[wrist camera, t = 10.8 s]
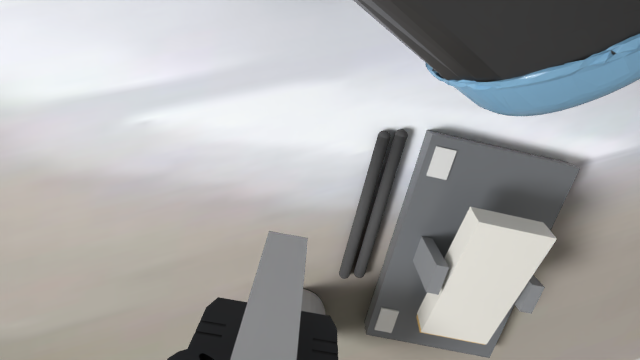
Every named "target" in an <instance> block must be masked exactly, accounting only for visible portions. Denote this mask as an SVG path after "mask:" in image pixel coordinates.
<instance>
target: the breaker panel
mask: <svg viewBox="0 0 640 360" xmlns="http://www.w3.org/2000/svg"><path fill="white" fill-rule="evenodd" d="M579 170H580V168H579V167H576V166H574V165H572V164H570V163H568V162H564V161H559V160H555V159H551V158H546V157H542V156H538V155H533V154H529V153H525V152H520V151H516V150H512V149H507V148H503V147H499V146H494V145H490V144H486V143H481V142H477V141H472V140H468V139H464V138H459V137H455V136H451V135H446V134H442V133H438V132H433V131H429V130H427V131H426V135H425V138H424V141H423V144H422V147H421V150H420V153H419V156H418V159H417V162H416V165H415V168H414V171H413V174H412V178H411V181H410V184H409V187H408V190H407V193H406V196H405V199H404V202H403V205H402V208H401V211H400V214H399V217H398V221H397V224H396V227H395V230H394V233H393V236H392V239H391V242H390V245H389V248H388V251H387V254H386V257H385V260H384V264H383V267H382V270H381V273H380V276H379V279H378V282H377V285H376V288H375V291H374V294H373V297H372V300H371V304H370V307H369V310H368V313H367V316H366V319H365V322H364V323H365V330H366V334H367V335H372V336H377V337H382V338H388V339H393V340H398V341H403V342H409V343H414V344H419V345H424V346H430V347H435V348H440V349H445V350H451V351H456V352H461V353H466V354H472V355H477V356H482V357H487V358H490V356H491V353H492V351H493V349H494V347H495V345H496V343H497V341H498V339H499V337H500V335H501V333H502V330H503V328H504V326H505V324H506V322H507V320H508V318H509V316H510V314H511V312H512V310H513V308H514V305H515V306H516V307H517V308H518V310H519V311H521V312H526V313H531V314H532V312H533V310H534V308H535V306H536V304H537V302H538V300H539V298H540V296H541V294H542V292H543V290H544V288H545V287H544V286H543V285H542V284H541V283H540V282H539V281H538V280H537V278H536V277H535V276H534V275H533V276H532V277H531V279H530V280H529V281H528V283H527V284H526V286H525V287H524V289H523V290H522V292H521V293H520V295H519V296H518V298H517V299H516V301H515V302H514V304H513V305H512V307H511V308H510V310H509V311H508V313H507V314H506V316H505V317H504V319H503V320H502V322H501V323H500V325H499V326H498V328H497V329H496V331H495V332H494V334H493V335H492V337H491V338H490V340H489V341H488V343H487V344H485V345H483V344H478V343H473V342H467V341H462V340H457V339H452V338H447V337H442V336H436V335H431V334H426V333H421V332H420V331H419V327H418V322H417V318H416V316H417V312H418V310H419V308H420V306H421V304H422V302H423V300H424V298H425V296H426V294H427V293H432V294H437V295H439V292H440V290H441V287H442V285H443V282H444V280H445V277H446V275H447V272H448V270H449V266H448V265H447V263H446V261H445V259H444V258H445V256H446V254H447V252H448V250H449V248H450V246H451V244H452V242H453V240H454V238H455V236H456V234H457V232H458V230H459V228H460V226H461V224H462V222H463V220H464V218H465V216H466V214H467V212H468V210H469V208H470V207H475V208H479V209H484V210H489V211H493V212H498V213H502V214H507V215H512V216H516V217H521V218H525V219H530V220H535V221H539V222H544V224H545V225H546V226H547V227H548V228H549V230H551V228H552V226H553V224H554V222H555V220H556V218H557V216H558V214H559V211H560V209H561V207H562V205H563V203H564V201H565V199H566V197H567V195H568V193H569V191H570V189H571V186H572V184H573V182H574V180H575V178H576V176H577V174H578V172H579Z"/></svg>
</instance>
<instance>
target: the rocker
mask: <svg viewBox="0 0 640 360" xmlns="http://www.w3.org/2000/svg"><path fill="white" fill-rule="evenodd" d="M556 240H557V238H556V237H555V236H554V235H553V233H552V232H551V231H550V230H549V228H548V227H547V226H546V225H545V224H544V222H539V221H535V220H530V219H525V218H521V217H516V216H512V215H507V214H502V213H498V212H493V211H489V210H484V209H479V208H475V207H470V208H469V210H468V212H467V214H466V216H465V218H464V220H463V222H462V224H461V226H460V228H459V230H458V232H457V234H456V236H455V238H454V240H453V242H452V244H451V246H450V248H449V250H448V252H447V254H446V256H445V258H444V259H445V261H446V263H447V265H448V266H449V270H448V272H447V275H446V277H445V280H444V282H443V285H442V287H441V290H440V292H439V295H437V294H432V293H427V294H426V296H425V298H424V300H423V302H422V304H421V306H420V308H419V310H418V312H417V316H416V318H417V322H418V327H419V331H420V332H421V333H426V334H431V335H436V336H442V337H447V338H452V339H457V340H462V341H467V342H473V343H478V344H483V345H485V344H487V343H488V341H489V340H490V338H491V337H492V335H493V334H494V332H495V331H496V329H497V328H498V326H499V325H500V323H501V322H502V320H503V319H504V317H505V316H506V314H507V313H508V311H509V310H510V308H511V307H512V305H513V304H514V302H515V301H516V299H517V298H518V296H519V295H520V293H521V292H522V290H523V289H524V287H525V286H526V284H527V283H528V281H529V280H530V279H531V277H532V276H533V274H534V273H535V271H536V270H537V268H538V267H539V265H540V264H541V262H542V261H543V259H544V258H545V256H546V255H547V253H548V252H549V250H550V249H551V247H552V246H553V244H554V243H555V241H556Z"/></svg>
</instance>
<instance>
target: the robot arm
mask: <svg viewBox="0 0 640 360" xmlns="http://www.w3.org/2000/svg"><path fill="white" fill-rule="evenodd" d="M354 1H355V2H356V3H357V4H358V5H359V6H360V7H362V8H363V9H364V10H365V11H366V12H367V13H369V14H370V15H371V16H372V17H373V18H374V19H376V20H377V21H378V22H379V23H380V24H381V25H383V26H384V27H385V28H386V29H387V30H388V31H390V32H391V33H392V34H393V35H394V36H395V37H397V38H398V39H399V40H400V41H401V42H402V43H404V44H405V45H406V46H407V47H408V48H409V49H411V50H412V51H413V52H414V53H415V54H416V55H418V56H419V57H420V58H421V59H422V60H423V61H425V62H426V67H427V69H428V70H429V71H430V73H431V74H432V75H433V76H434V77H436V78H437V79H438V80H440V81H443V82H445V83H446V84H448V85H451V86H454V87H455V88H456V89H457V90H459V91H460V92H461V93H463V94H464V95H465V96H466V97H468V98H469V99H470V100H472V101H473V102H474V103H476V104H477V105H478V106H480V107H482V108H484V109H487V110H489V111H492V112H495V113H498V114H503V115H508V116H533V115H542V114H547V113H553V112H557V111H561V110H565V109H568V108H572V107H575V106H578V105H581V104H584V103H587V102H590V101H593V100H595V99H598V98H601V97H603V96H605V95H608V94H610V93H612V92H614V91H617V90H619V89H621V88H623V87H625V86H627V85H629V84H631V83H633V82H635V81H637V80H638V79H640V0H354ZM307 241H308V238H305V237H299V236H294V235H288V234H283V233H278V232H272V231H269V233H268V237H267V240H266V243H265V247H264V250H263V253H262V256H261V260H260V263H259V266H258V270H257V273H256V276H255V280H254V283H253V286H252V289H251V293H250V296H249V299H248V303H247V302H241V301H236V300H230V299H224V298H217V299H216V300H215V301H213V302H212V303H211V304H210V305H209V306H207V307H206V309H205V312H204V314H203V316H202V318H201V321H200V323H199V325H198V327H197V329H196V332H195V334H194V336H193V338H192V340H191V342H190V345H189V347H188V349H186V350H183V351H179V352H177V353H176V354H174V355H173V356H171V357H169V358H168V359H167V360H338V345H337V328H336V326H335V324H334V322H333V321H332V319H331V317H330V316H328V315H322V314H317V313H311V312H305V311H301V306H302V295H303V284H304V273H305V262H306V251H307Z"/></svg>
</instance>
